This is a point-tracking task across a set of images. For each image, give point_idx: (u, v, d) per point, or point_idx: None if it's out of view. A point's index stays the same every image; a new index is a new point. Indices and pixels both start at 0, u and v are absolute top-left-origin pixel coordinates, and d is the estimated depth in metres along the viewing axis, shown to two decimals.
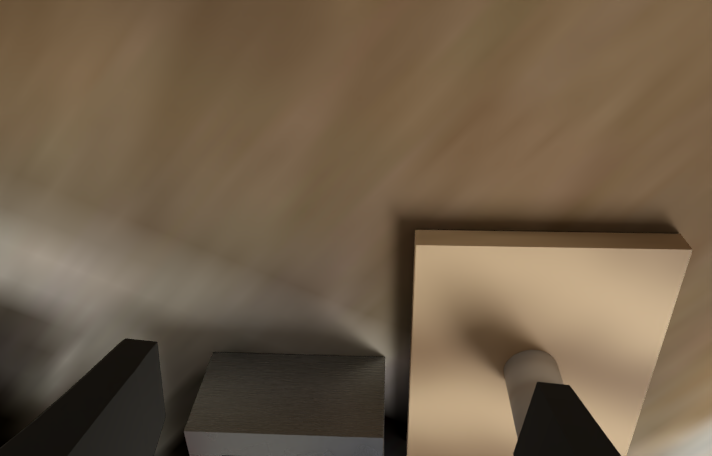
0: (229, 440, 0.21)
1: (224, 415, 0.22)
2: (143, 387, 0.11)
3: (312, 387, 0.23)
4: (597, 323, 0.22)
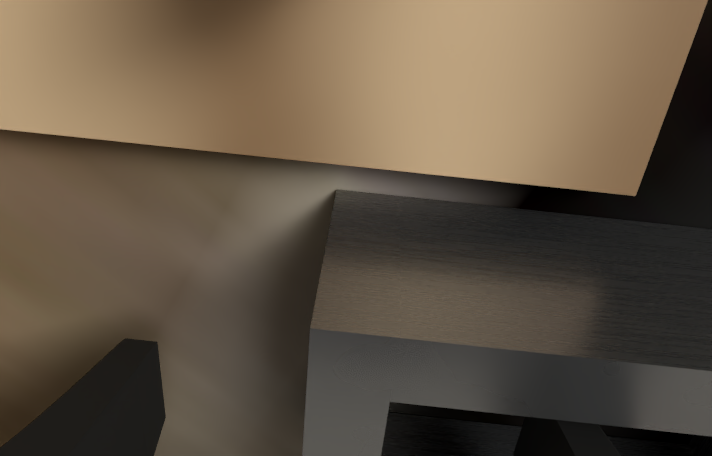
0: None
1: None
2: (143, 386, 0.11)
3: None
4: None
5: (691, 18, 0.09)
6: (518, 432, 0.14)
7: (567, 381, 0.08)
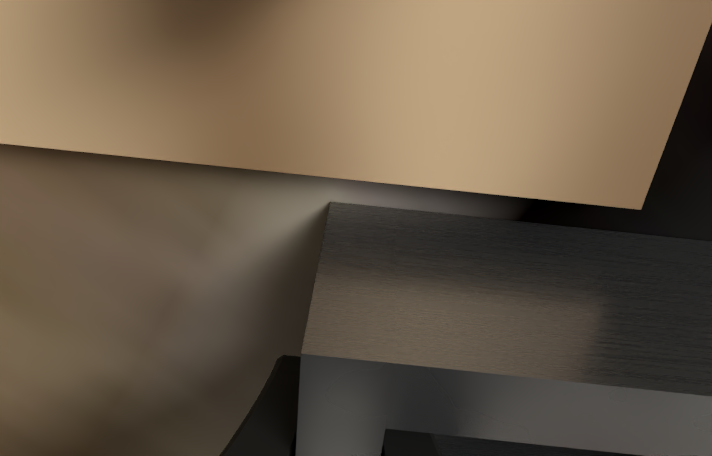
0: None
1: None
2: None
3: None
4: None
5: (700, 26, 0.08)
6: (518, 448, 0.14)
7: (571, 407, 0.08)
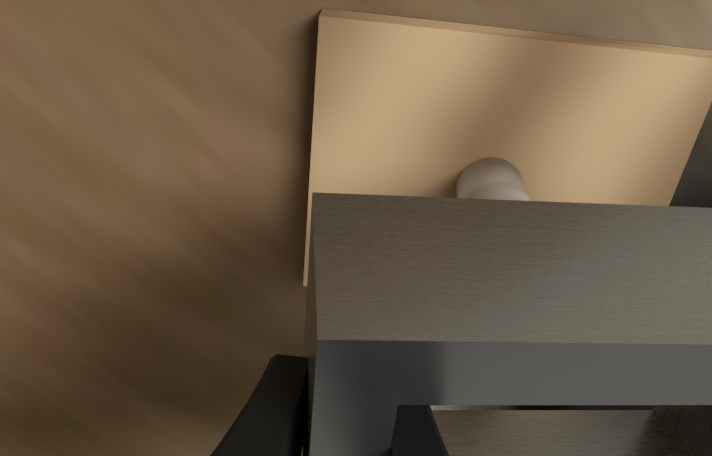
0: None
1: None
2: (302, 403, 0.11)
3: None
4: (423, 115, 0.17)
5: None
6: (497, 416, 0.15)
7: (570, 367, 0.08)
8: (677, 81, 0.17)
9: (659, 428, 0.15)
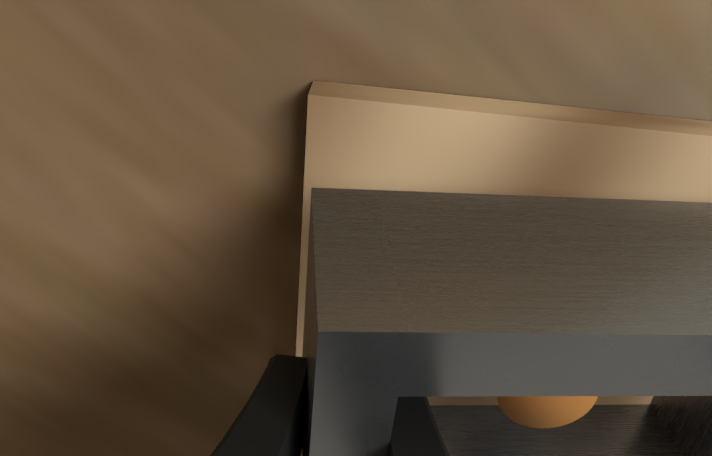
0: None
1: None
2: (302, 403, 0.11)
3: None
4: None
5: None
6: (495, 410, 0.15)
7: (568, 358, 0.09)
8: None
9: (656, 422, 0.15)
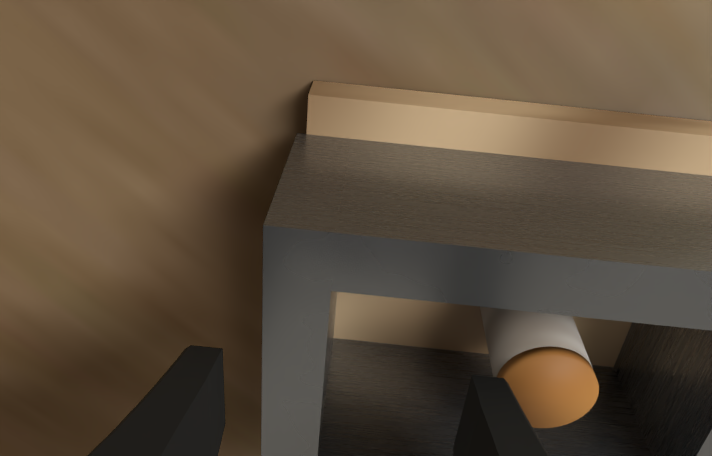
0: (281, 446, 0.13)
1: None
2: (211, 394, 0.11)
3: None
4: None
5: None
6: (463, 356, 0.16)
7: (472, 269, 0.10)
8: None
9: (615, 381, 0.16)
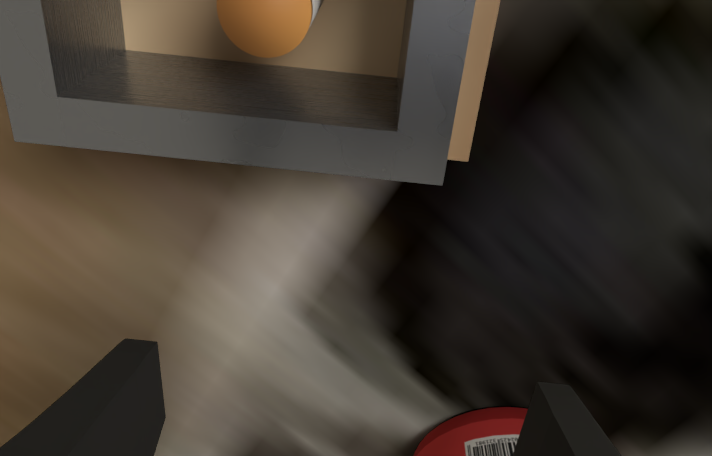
0: (19, 76, 0.13)
1: None
2: (143, 386, 0.11)
3: None
4: None
5: (482, 66, 0.17)
6: (250, 64, 0.17)
7: None
8: None
9: (391, 83, 0.16)
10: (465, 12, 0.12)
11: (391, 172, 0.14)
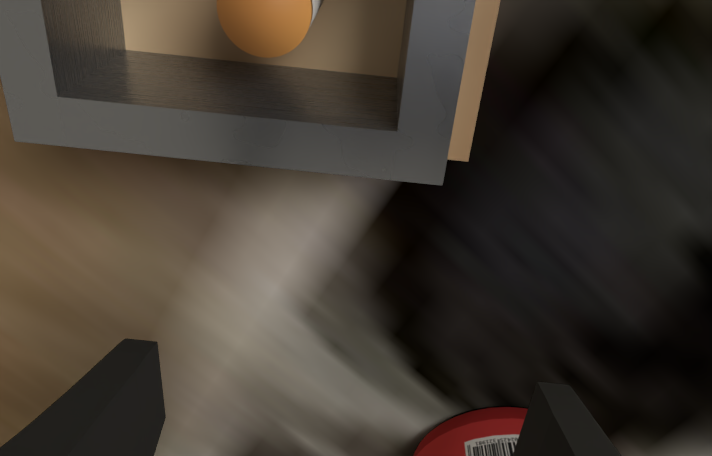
0: (19, 76, 0.13)
1: None
2: (143, 386, 0.11)
3: None
4: None
5: (482, 66, 0.17)
6: (250, 64, 0.17)
7: None
8: None
9: (391, 83, 0.16)
10: (465, 12, 0.12)
11: (391, 172, 0.14)
